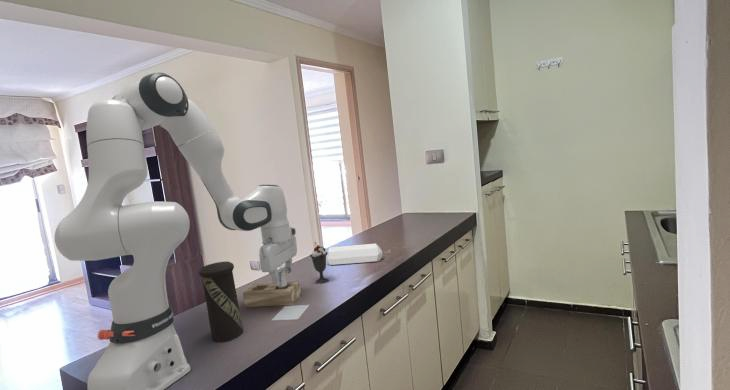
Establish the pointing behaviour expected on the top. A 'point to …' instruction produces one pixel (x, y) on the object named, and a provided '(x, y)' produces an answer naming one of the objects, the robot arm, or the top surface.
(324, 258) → the sundae
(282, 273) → the peg
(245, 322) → the top surface
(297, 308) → the mat
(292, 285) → the socket block
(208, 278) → the container
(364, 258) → the crystal
